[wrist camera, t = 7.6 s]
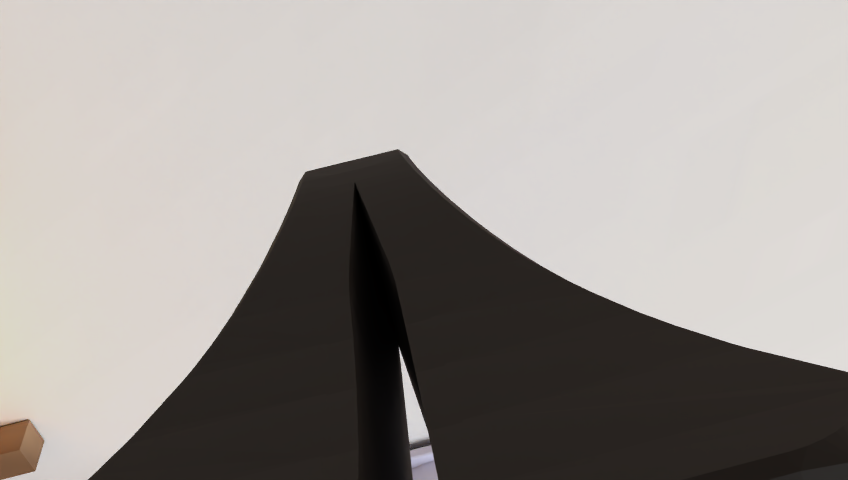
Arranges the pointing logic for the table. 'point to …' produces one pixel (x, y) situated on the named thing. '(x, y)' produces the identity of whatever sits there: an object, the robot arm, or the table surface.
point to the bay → (19, 449)
